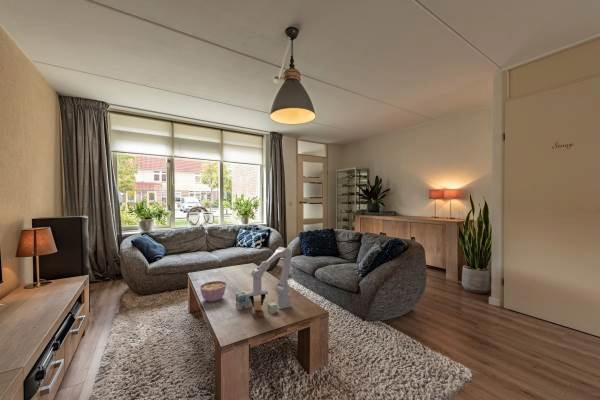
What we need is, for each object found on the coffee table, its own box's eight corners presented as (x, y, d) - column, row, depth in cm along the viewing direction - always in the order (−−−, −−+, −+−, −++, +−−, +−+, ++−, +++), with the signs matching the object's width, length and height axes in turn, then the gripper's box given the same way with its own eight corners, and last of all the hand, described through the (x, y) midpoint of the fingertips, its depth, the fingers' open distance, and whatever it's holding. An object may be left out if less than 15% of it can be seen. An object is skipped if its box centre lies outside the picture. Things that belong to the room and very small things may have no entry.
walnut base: (261, 312, 172) (261, 307, 172) (263, 316, 165) (263, 311, 165) (251, 314, 169) (251, 309, 169) (253, 318, 163) (253, 313, 163)
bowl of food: (200, 296, 198) (200, 282, 198) (225, 293, 206) (225, 279, 205) (199, 307, 180) (199, 291, 180) (227, 302, 187) (227, 288, 187)
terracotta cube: (261, 305, 170) (260, 298, 170) (261, 309, 165) (261, 301, 165) (253, 306, 169) (253, 298, 169) (253, 309, 164) (253, 301, 164)
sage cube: (273, 309, 176) (273, 301, 176) (277, 311, 172) (277, 304, 172) (267, 311, 173) (267, 303, 173) (271, 313, 169) (271, 306, 169)
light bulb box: (238, 310, 174) (238, 295, 174) (235, 307, 179) (235, 292, 179) (252, 306, 180) (252, 292, 180) (248, 303, 186) (248, 289, 185)
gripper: (266, 283, 173) (266, 301, 174) (245, 285, 168) (246, 305, 168) (268, 286, 167) (268, 305, 167) (247, 289, 162) (247, 309, 162)
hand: (257, 305), depth 167 cm, fingers closed on terracotta cube, 5 cm apart
